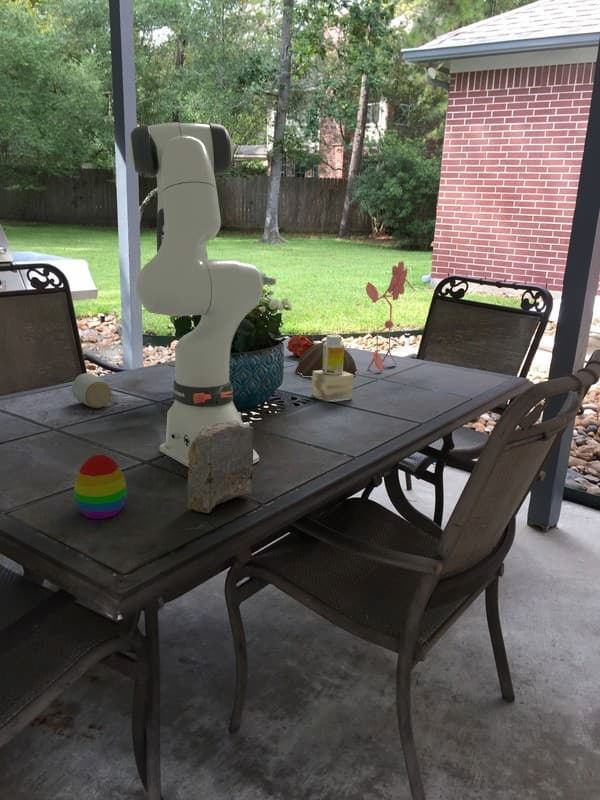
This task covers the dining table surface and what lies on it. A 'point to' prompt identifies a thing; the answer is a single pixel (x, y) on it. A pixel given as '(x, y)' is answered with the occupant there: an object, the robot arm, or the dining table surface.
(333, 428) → the dining table surface
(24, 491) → the dining table surface
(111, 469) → the decorative egg
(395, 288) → the figurine
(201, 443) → the geological specimen
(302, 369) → the decorative dome
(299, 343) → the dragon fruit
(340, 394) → the beech block
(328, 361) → the supplement bottle
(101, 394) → the ceramic mug
